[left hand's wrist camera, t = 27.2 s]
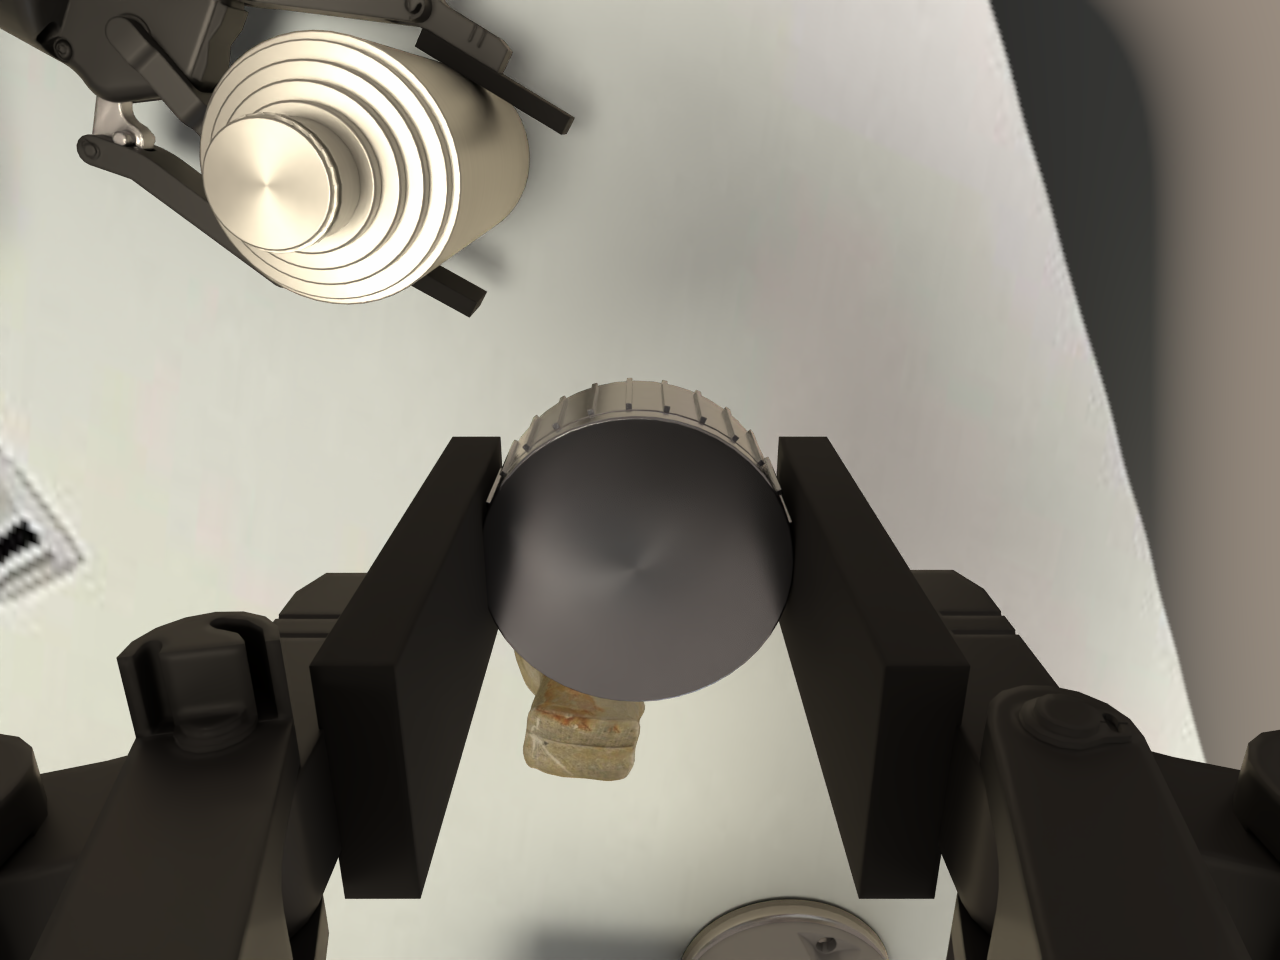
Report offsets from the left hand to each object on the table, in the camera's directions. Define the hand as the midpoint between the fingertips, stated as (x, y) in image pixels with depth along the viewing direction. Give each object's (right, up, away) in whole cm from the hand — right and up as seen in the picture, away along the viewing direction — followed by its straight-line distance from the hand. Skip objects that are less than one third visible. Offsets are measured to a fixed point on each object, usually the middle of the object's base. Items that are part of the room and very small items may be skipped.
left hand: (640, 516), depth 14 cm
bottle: (-9, +16, +29) cm, 35 cm away
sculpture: (-3, -5, +38) cm, 38 cm away
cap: (0, -1, -2) cm, 2 cm away
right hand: (-5, +12, +24) cm, 27 cm away
